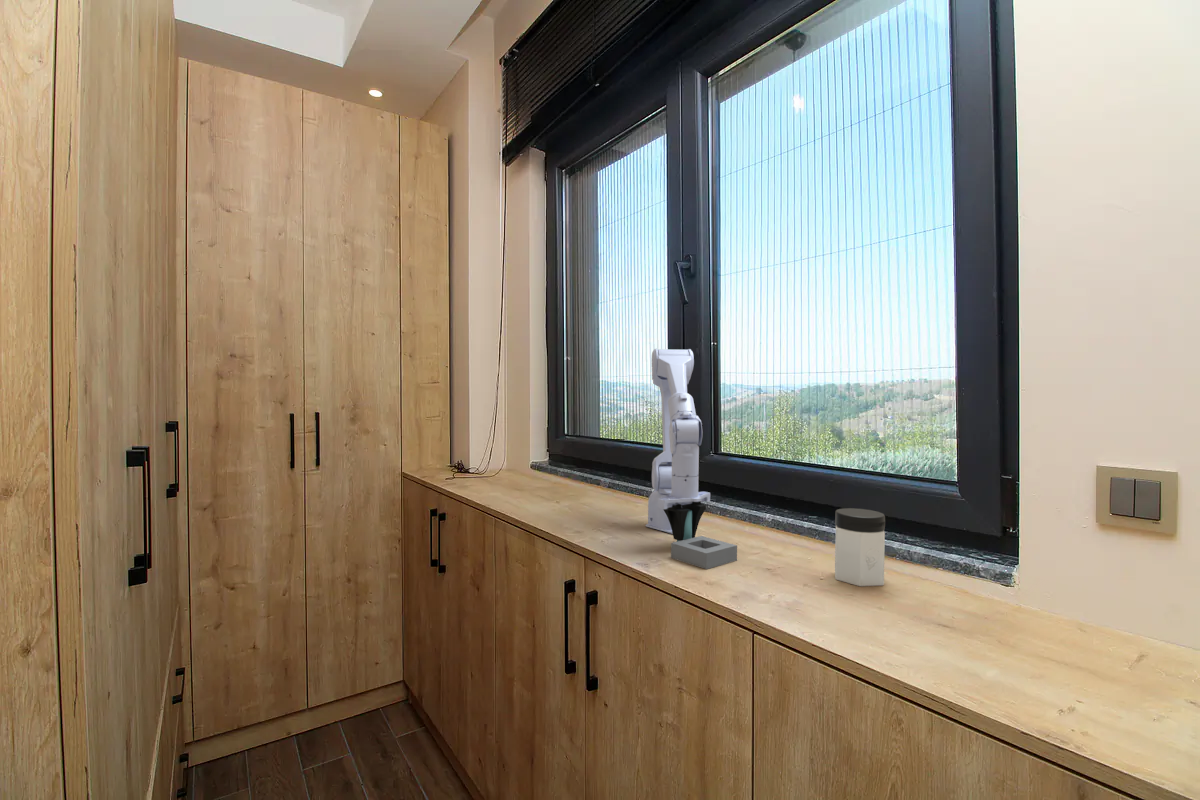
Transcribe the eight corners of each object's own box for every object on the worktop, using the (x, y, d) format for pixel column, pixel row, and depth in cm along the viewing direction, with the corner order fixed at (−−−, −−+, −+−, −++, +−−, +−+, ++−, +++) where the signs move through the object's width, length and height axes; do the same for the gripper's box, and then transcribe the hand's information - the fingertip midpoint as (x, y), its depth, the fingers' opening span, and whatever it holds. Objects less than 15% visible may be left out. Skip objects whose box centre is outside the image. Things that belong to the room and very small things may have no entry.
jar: (848, 587, 97) (849, 518, 97) (823, 572, 105) (824, 508, 105) (896, 585, 98) (897, 517, 98) (868, 571, 106) (869, 507, 106)
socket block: (671, 557, 114) (671, 542, 114) (701, 550, 120) (701, 535, 119) (706, 569, 107) (706, 553, 107) (736, 560, 112) (737, 545, 112)
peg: (673, 547, 121) (673, 510, 121) (683, 544, 123) (684, 508, 123) (684, 550, 119) (685, 512, 119) (694, 548, 121) (695, 510, 121)
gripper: (675, 480, 113) (674, 548, 113) (721, 474, 122) (720, 536, 123) (650, 476, 119) (649, 540, 119) (696, 470, 128) (696, 530, 128)
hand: (684, 538), depth 121 cm, fingers closed on peg, 3 cm apart
